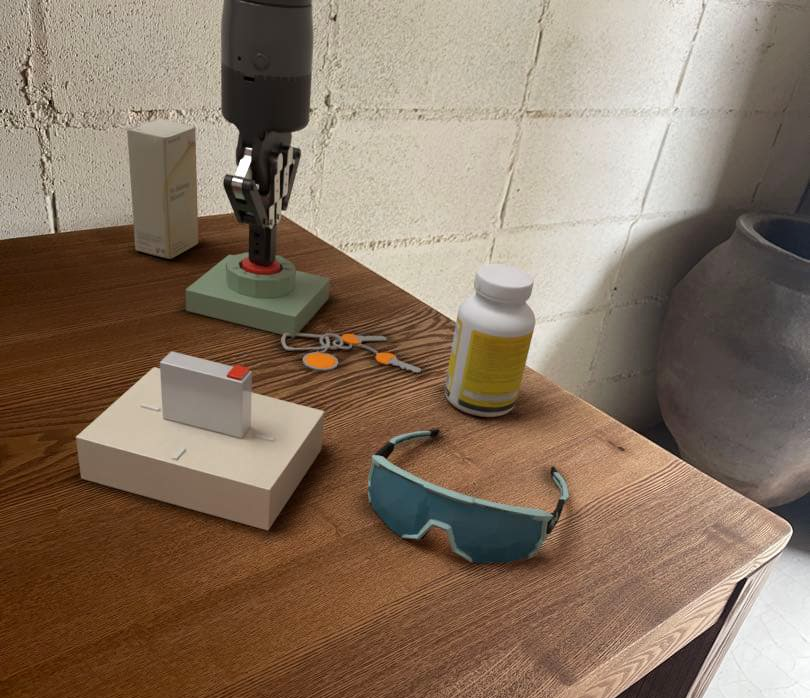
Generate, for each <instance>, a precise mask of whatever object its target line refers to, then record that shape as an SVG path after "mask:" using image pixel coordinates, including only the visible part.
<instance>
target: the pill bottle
mask: <svg viewBox="0 0 810 698" xmlns="http://www.w3.org/2000/svg"><path fill="white" fill-rule="evenodd" d="M534 281H535V280H534V277H533V276H532V274H530V273H529V272H528V271H525V270H523V269H521V268H518V267H516V266H513V265H508V264H503V263H487V264H482V265H480V266H479V267H478V268H477V269H476V273H475V276H474V280H473V289H474V291H475V292H474V293H471V294H470V295H468V296H467V297H465V298H464V299H463V300H462V302H461V303H460V305H459V306H458V311H457V315H456V321H455V326H454V333H453V338H452V343H451V350H450V355H449V361H448V367H447V372H446V377H445V378H446V379H445V384H444V394H445V398H446V399H447V401H448V402H449V404H451V405H452V406H453V407H454V408H456V409H457V410H459V411H461V412H462V413H463V412H464V413H466V414H468V415H471V416H476V417H483V418H495V417H500V416H504V415H506V414H508V413H510V412H511V411H512V410H513V409H514V407H515V406H516V404H517V401H518V396H519V392H520V389H521V385H522V381H523V376H524V372H525V367H526V364H527V360H528V356H529V352H530V347H531V343H532V338H533V334H534V330H535V327H536V316H535V313H534V311H533V309H532V307H530V305H529V304H528V303H527V301H528V300H529V299H530V298H531V296H532V292H533V288H534Z"/></svg>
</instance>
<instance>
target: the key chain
mask: <svg viewBox="0 0 810 698" xmlns="http://www.w3.org/2000/svg"><path fill="white" fill-rule="evenodd" d="M289 336H290V334H288V333H284V334H283V335H281V338H280V344H281V345H282V348H283V349H284V350H285V351H288V352H289V351H291V352H294V351H301V350H302V351H305V350H316V351H313V352H309V353H306V354H304V356H303V357H302V364H303V365H304V366H305V367H307V368H308V369H310V370H314V371H319V372H323V371H324V372H327V371H332V370H334V369H336V368H337V367H338V366H339V360H338V358H337V357H336V356H334V355H333V354H331V353H327V351H328V350H330V351H336V350H344V351H345V350H348V351H349V350H351V349H352V348H353V347H355V348H362V349H365V350H368V351H370V352H372V353H374V354H375V360H376V362H377V363H379V364H382V365H385V366H388V365H392V366H394V367H395V366H396V367H399V368H400V369H402V370H406V371H411V372H412V373H415V374H419V373H421V372H422V368H420V367H417V366H415V365H412V364H409V363H407V362H403V361H401V360H399V359H398V358H397V357H398V356H397V355H395V354H393V353H390V352H380V353H379V351H377V350H376V349H375V348H372V346H368V345H365V344H362V343H363V342H386V341H387V340H388V338H387V337H386V336H384V335H376V336H375V335H372V336H371V335H366V336H365V335H357V334H355V333H344V334H342V335H341V336H340V335H339V334H337V333H332V332H330V333H329V332H328V333H324V334H315V333H314V334H313V333H304V332H299V333H296V334H295V337H303V338H314V339H319V344H320V345H321V346H312V347H293V346H288V345H287V343H286V339H287V337H289ZM330 338H335V339H334V340H333V341H332V345H331V340H330ZM324 340H325V342H324ZM337 343H338V344H337ZM344 344H346V345H348V346H345V345H344Z"/></svg>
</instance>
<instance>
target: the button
mask: <svg viewBox="0 0 810 698" xmlns="http://www.w3.org/2000/svg"><path fill="white" fill-rule="evenodd" d="M242 269H243V270H244V271H246V272H249V273H253V274H257V275H272V274H276V273H280V263H279V262H278V261H277V260H275V261H274V262H272V263H271V264H270V265H269V266H267V267H265V266H261V265H257V264H253V263H251V262H250V261H249V257H246V258H245V259H243V261H242Z"/></svg>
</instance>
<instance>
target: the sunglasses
mask: <svg viewBox="0 0 810 698" xmlns="http://www.w3.org/2000/svg"><path fill="white" fill-rule="evenodd" d="M440 432H441V430H440V429H439V428H435V429H430V430H417V431H413V432H407V433H403V434H399V435H397V436H394V437H391V438H390V440H389V441H388V442H387V443H386V444H384V445H383V446H382V447H381V448H380V449H378V451H376V452H375V454H371V462H370V466H369V470H368V476H367V482H368V483H367V484H368V488H367V498H368V504H370V506H371V507H372V510H373V511H374V512H375V513H376V514H377V516H378V517H379V518H380V519H381V520H382V522H383V523H384V524H385V525H386V526H387V527H388V528H389V530H392V532H393V533H395V534H397V535H398V536H399V537H400V538H401V539H407V540H408V539H409V540H418V541H419V540H423V539H424V538H425V537H426V536H427V535H428V534H429V533H430V531H431V530H432V529H433V528H437V529H440V530H442V531H443V532H445V534H446V537H447V539H448V542H449V545H450V548H451V551H452V552H453V553H454V554H457V555H458V556H460V557H461V558H463V559H464V560H466V561H468V563H471V564H472V563H474V564H478V563H479V564H507V563H511V562H516V561H520V560H524V559H528V560H529V559H531V558H532V557H533V556H534V555H535V554H536V553H537V552H538V551H539V550H541V548H542V545H543V543H544V542H545V541H547V540H548V536H549V535H551V533H552V532H553V530H554V529H555V527H556V525H557V523H558V522H559V520H560V518H561V514H562V513H563V509H564V506H565V505H566V503H567V501H568V499H569V497H570V496H569V490H568V484H567V483H566V481H565V480H564V478H563V476H562V475H561V474H560V473H559V472H558V471H557V467H556V466H551V467H550V473H549V474H550V476H551V478H552V480H553V481H554V482H555V484H556V485H557V487H558V488H559V491H560V495H561V496H560V497H559V498H558V501H557V504H556V507H555V509H554V510H553V512H547V511H545V510H542V509H540V508H532V507H524V506H516V505H510V504H505V503H499V502H494V501H490V500H487V499H483V498H482V499H481V498H478V497H474V496H471V495H467V494H463V493H460V492H457V491H454V490H451V489H448V488H445V487H442V486H439V485H437V484H436V483H432V482H430V481H427V480H424V479H422V478H420V477H418V476H416V475H414V474H413V473H410V472H409V471H406V470H405V469H402V468H401V467H399V466H397V465H395V464H394V463H392V462H391V461H389V460H387V459H388V458H389V457H390V455H391V454H393V452H394V450H395V449H396V448H397V447H398V446H401V445H403V444H406V443H410V442H413V441H420V440H425V439H432V438H437V437H438V435H439V433H440Z"/></svg>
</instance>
